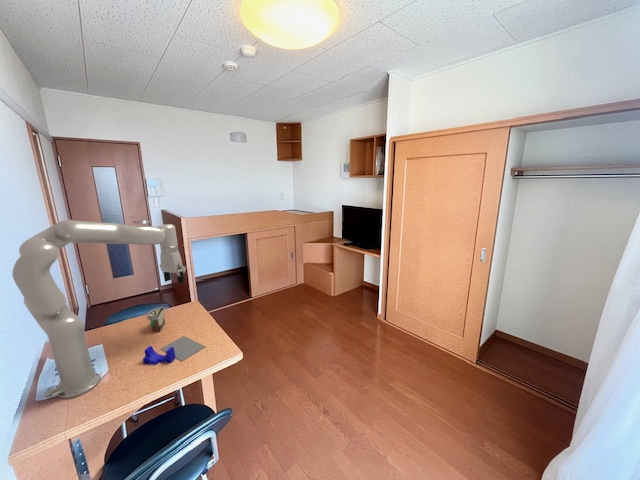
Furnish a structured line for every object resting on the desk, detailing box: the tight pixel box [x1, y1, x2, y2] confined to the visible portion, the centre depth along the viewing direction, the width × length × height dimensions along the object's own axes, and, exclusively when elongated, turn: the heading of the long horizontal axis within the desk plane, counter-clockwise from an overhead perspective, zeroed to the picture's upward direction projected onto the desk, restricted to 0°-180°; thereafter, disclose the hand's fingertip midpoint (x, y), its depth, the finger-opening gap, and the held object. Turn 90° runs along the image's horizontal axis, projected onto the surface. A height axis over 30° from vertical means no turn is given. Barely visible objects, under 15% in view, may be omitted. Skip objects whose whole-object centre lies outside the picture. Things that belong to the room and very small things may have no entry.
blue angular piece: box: [142, 345, 177, 365], centre depth 116 cm, size 12×4×6 cm, turn 85°
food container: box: [147, 306, 166, 333], centre depth 142 cm, size 12×6×10 cm, turn 17°
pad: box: [159, 335, 206, 362], centre depth 126 cm, size 12×18×1 cm, turn 59°
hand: (174, 281), depth 131 cm, fingers open, 9 cm apart
